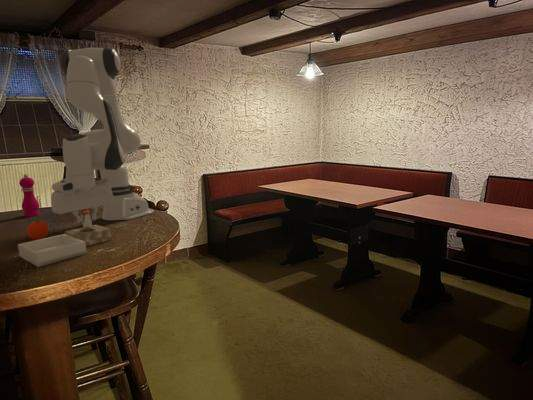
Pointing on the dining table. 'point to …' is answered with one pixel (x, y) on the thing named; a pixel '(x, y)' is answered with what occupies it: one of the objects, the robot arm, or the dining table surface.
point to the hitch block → (91, 235)
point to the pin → (86, 220)
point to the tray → (51, 249)
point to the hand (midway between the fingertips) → (86, 221)
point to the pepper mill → (29, 197)
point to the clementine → (37, 230)
